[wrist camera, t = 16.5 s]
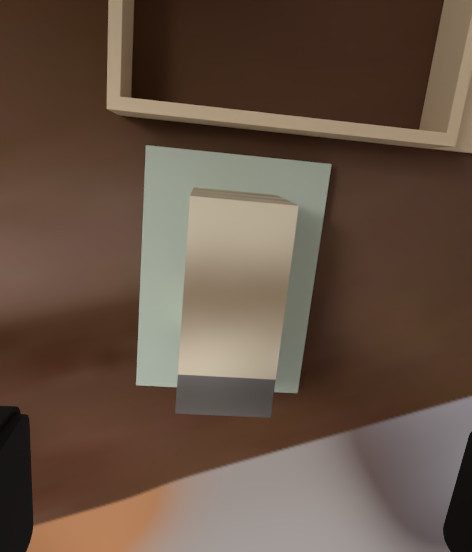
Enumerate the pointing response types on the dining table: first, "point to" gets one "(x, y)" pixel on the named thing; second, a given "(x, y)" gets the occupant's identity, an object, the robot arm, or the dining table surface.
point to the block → (233, 301)
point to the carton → (431, 135)
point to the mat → (173, 241)
